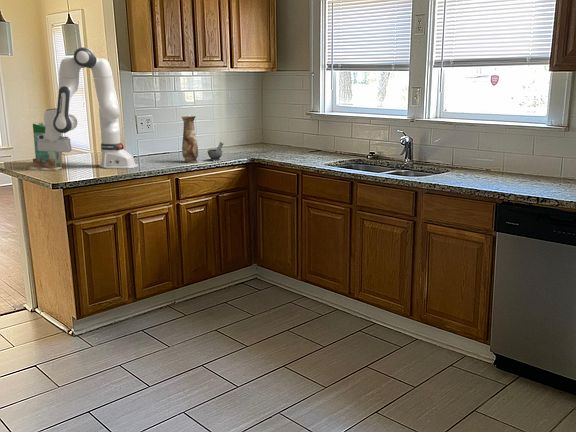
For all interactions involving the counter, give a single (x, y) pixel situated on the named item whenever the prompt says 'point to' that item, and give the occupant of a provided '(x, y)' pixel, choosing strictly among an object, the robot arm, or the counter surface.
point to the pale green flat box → (55, 157)
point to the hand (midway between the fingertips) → (55, 159)
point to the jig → (44, 165)
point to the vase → (189, 139)
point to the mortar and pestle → (216, 152)
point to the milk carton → (38, 130)
